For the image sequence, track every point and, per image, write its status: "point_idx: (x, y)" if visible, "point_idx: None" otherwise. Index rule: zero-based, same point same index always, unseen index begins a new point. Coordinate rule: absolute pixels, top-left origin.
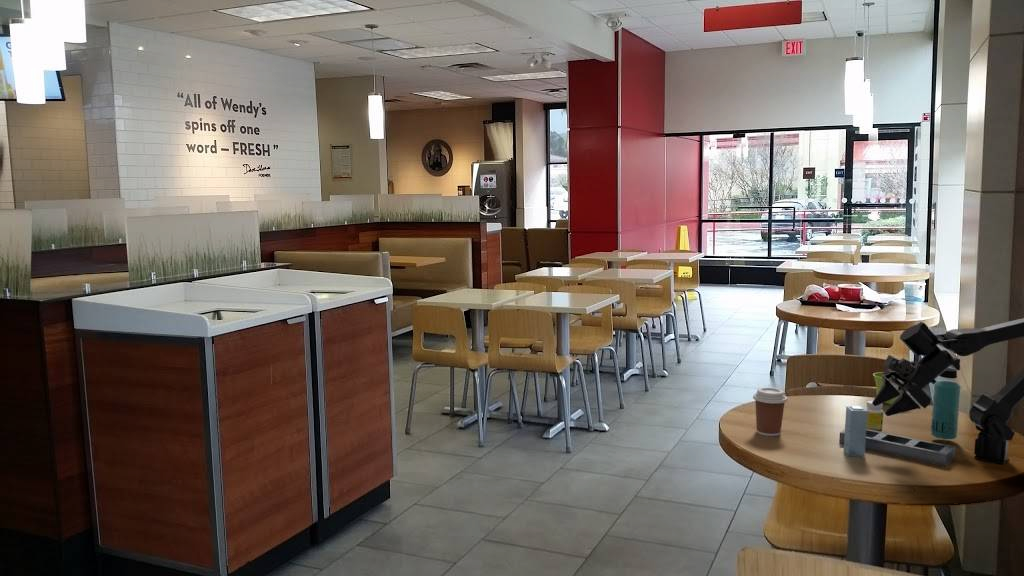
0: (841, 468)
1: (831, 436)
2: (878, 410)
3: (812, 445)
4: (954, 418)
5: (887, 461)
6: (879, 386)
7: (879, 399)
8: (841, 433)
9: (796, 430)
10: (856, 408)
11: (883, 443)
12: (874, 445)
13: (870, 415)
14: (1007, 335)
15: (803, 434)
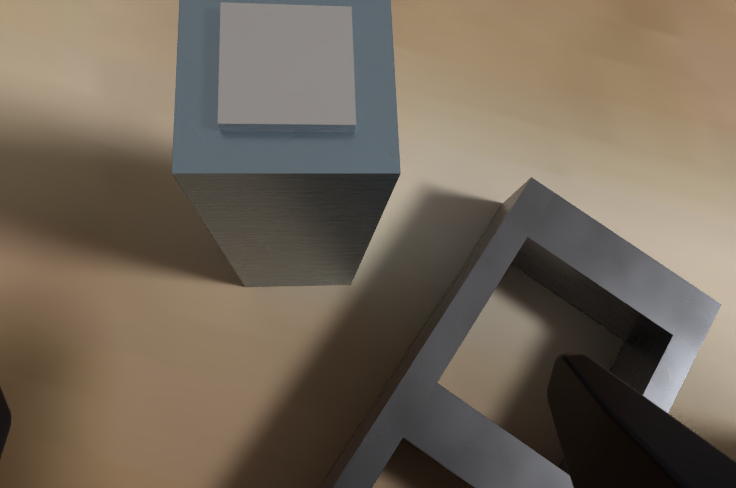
0: (6, 82)
1: (637, 195)
2: None
3: (429, 38)
4: None
5: (161, 418)
6: None
7: (609, 470)
8: (522, 188)
9: (700, 26)
10: (230, 41)
11: (353, 449)
12: (387, 390)
13: None
14: None
15: (633, 44)
